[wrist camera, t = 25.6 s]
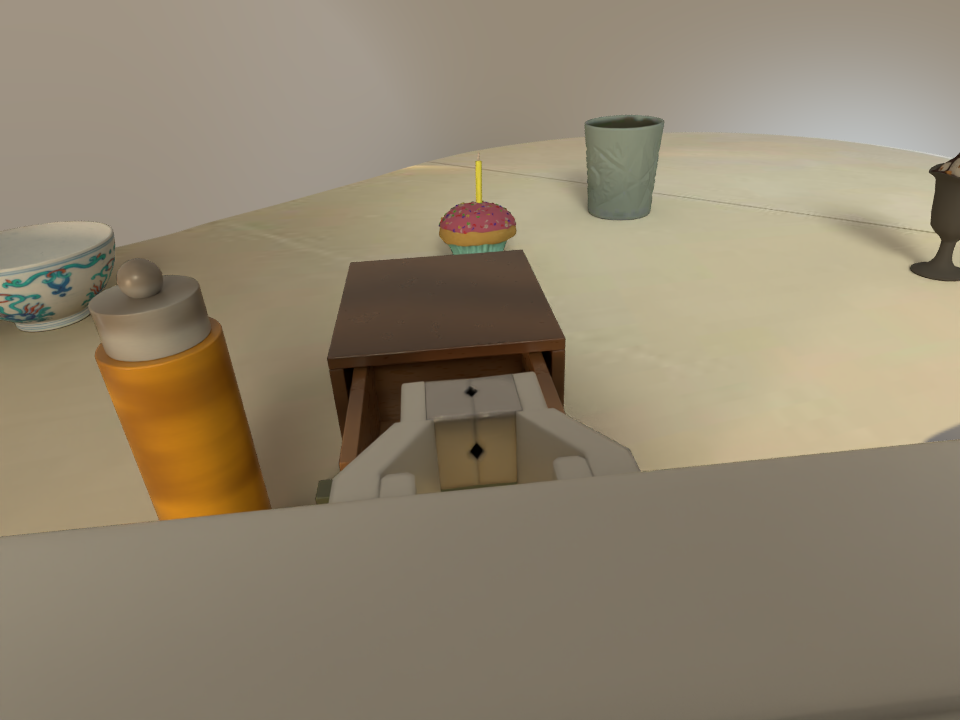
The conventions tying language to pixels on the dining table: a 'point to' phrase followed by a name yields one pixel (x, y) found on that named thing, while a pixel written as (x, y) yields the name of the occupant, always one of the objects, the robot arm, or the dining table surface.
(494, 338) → the cabinet
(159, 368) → the pepper mill
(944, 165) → the sundae
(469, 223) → the cupcake
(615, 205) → the green embossed cup
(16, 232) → the chinaware
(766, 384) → the dining table surface
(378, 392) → the drawer
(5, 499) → the dining table surface
